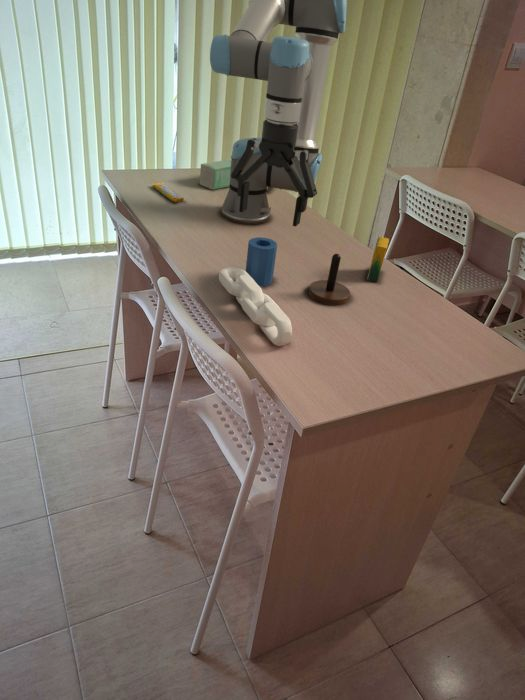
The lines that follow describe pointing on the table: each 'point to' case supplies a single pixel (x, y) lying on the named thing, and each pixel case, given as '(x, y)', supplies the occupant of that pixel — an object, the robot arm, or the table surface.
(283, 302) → the table surface
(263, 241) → the towel roll
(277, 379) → the table surface
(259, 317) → the chain
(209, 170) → the box
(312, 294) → the stand base
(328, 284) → the stand post
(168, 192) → the candy bar
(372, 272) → the crayon box
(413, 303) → the table surface
